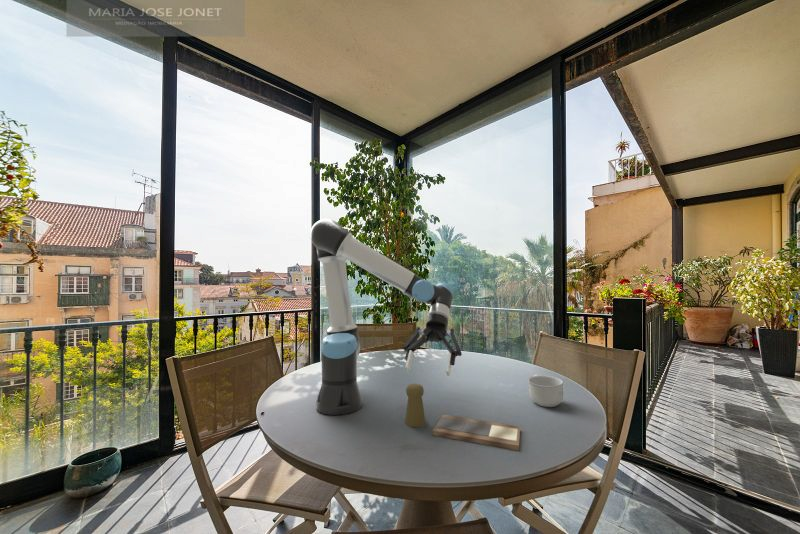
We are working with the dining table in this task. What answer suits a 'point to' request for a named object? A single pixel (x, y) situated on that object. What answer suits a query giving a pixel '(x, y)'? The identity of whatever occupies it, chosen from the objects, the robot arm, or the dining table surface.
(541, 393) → the teacup
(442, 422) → the brown frame
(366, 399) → the dining table surface
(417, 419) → the cork
